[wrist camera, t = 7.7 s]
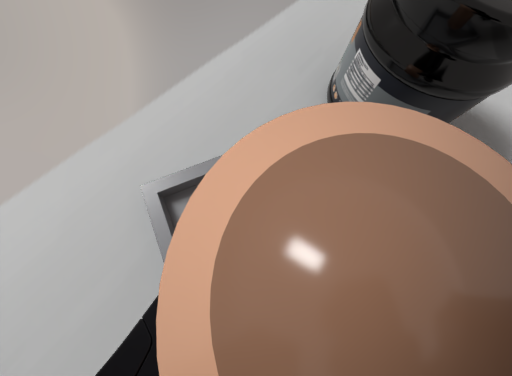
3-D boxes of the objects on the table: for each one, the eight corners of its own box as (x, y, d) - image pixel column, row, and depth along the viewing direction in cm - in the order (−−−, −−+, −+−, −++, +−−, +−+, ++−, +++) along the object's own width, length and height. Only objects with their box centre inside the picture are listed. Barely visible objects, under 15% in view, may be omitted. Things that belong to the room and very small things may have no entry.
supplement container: (441, 95, 24) (628, -61, 12) (407, 176, 21) (613, 72, 9) (348, 50, 25) (439, -130, 13) (304, 121, 22) (372, -33, 10)
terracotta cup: (321, 311, 14) (769, 597, 2) (230, 321, 14) (135, 754, 2) (307, 221, 16) (510, 93, 4) (225, 227, 15) (164, 106, 3)
